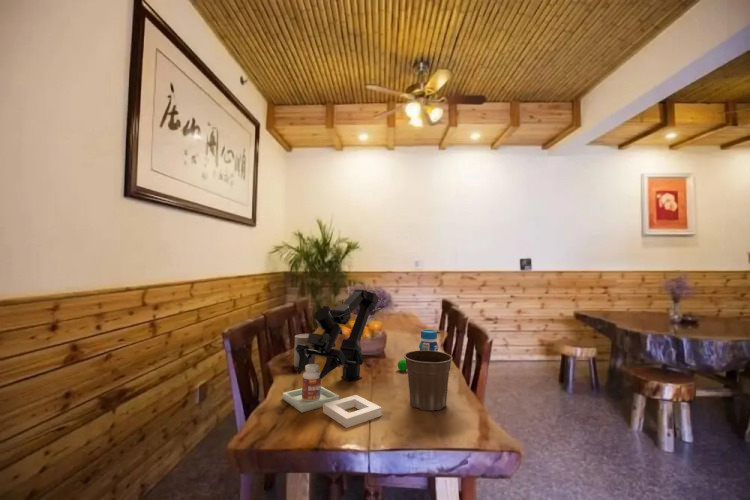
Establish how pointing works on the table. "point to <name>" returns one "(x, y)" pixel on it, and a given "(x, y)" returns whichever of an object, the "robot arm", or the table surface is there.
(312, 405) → the parts tray
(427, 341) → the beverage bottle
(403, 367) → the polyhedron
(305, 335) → the pillar candle
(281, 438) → the table surface
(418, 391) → the plant pot
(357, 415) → the socket block
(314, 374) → the pill bottle
